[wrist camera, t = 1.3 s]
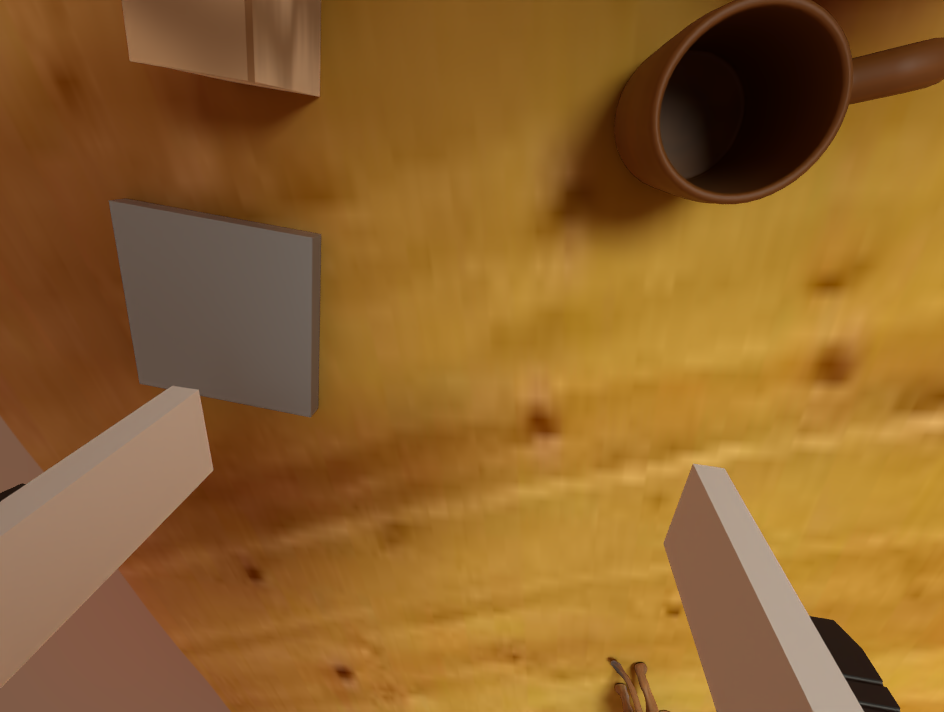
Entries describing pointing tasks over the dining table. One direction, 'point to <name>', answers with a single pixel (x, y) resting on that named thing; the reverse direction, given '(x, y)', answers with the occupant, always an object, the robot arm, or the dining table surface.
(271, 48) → the oak block
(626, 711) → the lion figurine
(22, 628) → the robot arm
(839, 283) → the dining table surface
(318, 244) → the slate board
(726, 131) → the mug
